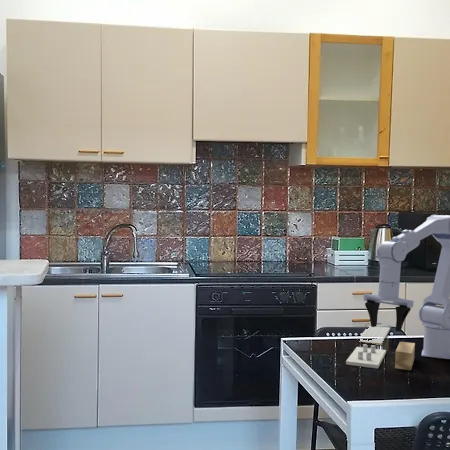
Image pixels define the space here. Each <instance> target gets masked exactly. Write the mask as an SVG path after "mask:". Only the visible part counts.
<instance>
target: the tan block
mask: <svg viewBox="0 0 450 450" xmlns="http://www.w3.org/2000/svg"><path fill="white" fill-rule="evenodd" d="M415 346H416V343H415V342H407V341H399V343H398V345H397V348H396V349H395V356H394V357H395V359H394V360H395V361H394V368H395V369H399V370H407V371H412V368H413V365H414V361H415V354H416V353H415V352H416V351H415V349H416V347H415Z"/></svg>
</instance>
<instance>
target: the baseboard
mask: <svg viewBox="0 0 450 450" xmlns="http://www.w3.org/2000/svg"><path fill="white" fill-rule="evenodd" d="M368 325H370V326H368ZM378 325H382V322H380V323H379V322H377V326H376V327H371V322H370V323H369V322H367V325H365V327H369V328H368V329H366V328H365V329H364V331H363V332H362V334H361V335H360V336H359V337H383V338H377V339H372V340H369V341H368V339H367V340H363V339H360V341H359V342H365V343H372V344H378V345H382V346H383V344H384V342H385V340H386V339H385V337H386V336H387V337H388V334H389V332H390V331H391V327H390V326H391V324H389V325H388V326H378ZM387 337H386V338H387ZM384 339H385V340H384ZM383 341H384V342H383ZM382 343H383V344H382Z"/></svg>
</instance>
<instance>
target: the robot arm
mask: <svg viewBox="0 0 450 450" xmlns="http://www.w3.org/2000/svg"><path fill="white" fill-rule="evenodd" d="M429 236H432V237H433V238H434V239H435V240H436V241H437V242H438V243H439V244H440V245H441V249H440V254H439V260H438V263H437V268H436V271H435V272H436V273H435V277H434V282H433V286H432V290H431V294H429V295H428V296H426V297H425V298H424V299H423V302H422V304H421V306H420V308H419V310H418V318H419V320H420V322H421V325H422V326H423V349H422V350H421V357H426V358H427V357H428V358H429V357H430V358H437V359H445V360H450V215H449V214H448V215H447V214H444V215H443V214H440V215H439V214H431V215H430V216H428V217H427V218H426V220H425V221H424V222H423V223H422V224H420V225H419V226H417V227H416V228H415V229H413V230H412V229H404V230H402V233H400V234H398V235H397V236H393V237H392V238H391V240H385V241H383V242H381V243H380V244H379V246H378V248H377V249H376V256H377V257H378V264H379V279H378V280H379V282H378V292H377V293H378V295H377V294H369V293H365V294H363V301H364V305H365V307H366V310H367V313H368V317H369V321H370V326H371V327H376V326H378V324H377V323H378V313H379V309H380V305H381V304H385V305H386V304H387V305H392V306H395V313H396V317H395V318H396V322H395V332H401V331H402V328H403V325H404V322H405V320H406V318H407V316H408V314H409V313H410V311H411V309H413V308H414V300H411V299H405V298H400V297H399V294H400V282H401V281H400V280H401V270H402V269H401V268H402V262H403V261H405V259H406V256H407V254H409V253H410V252H412V251H413V250H414V249H416V248H418V247H419V245H420V244H421V240H424V239H425V238H427V237H429Z"/></svg>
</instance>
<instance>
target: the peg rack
mask: <svg viewBox="0 0 450 450" xmlns="http://www.w3.org/2000/svg"><path fill="white" fill-rule="evenodd" d="M368 346H369V345H367V344H362V346H356V347H355V348H354V350H353V352H351V353H350V355H349V356H348V358H347V359H346V360H345V366H346V365H348V366H355V367H364V368H370V369H371V368H372V369H379V368H380V365H381V364H382V362H383V360H384V357H385V355H386V353H387V350H386V349H379V348H376V345H370V347H368Z"/></svg>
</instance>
